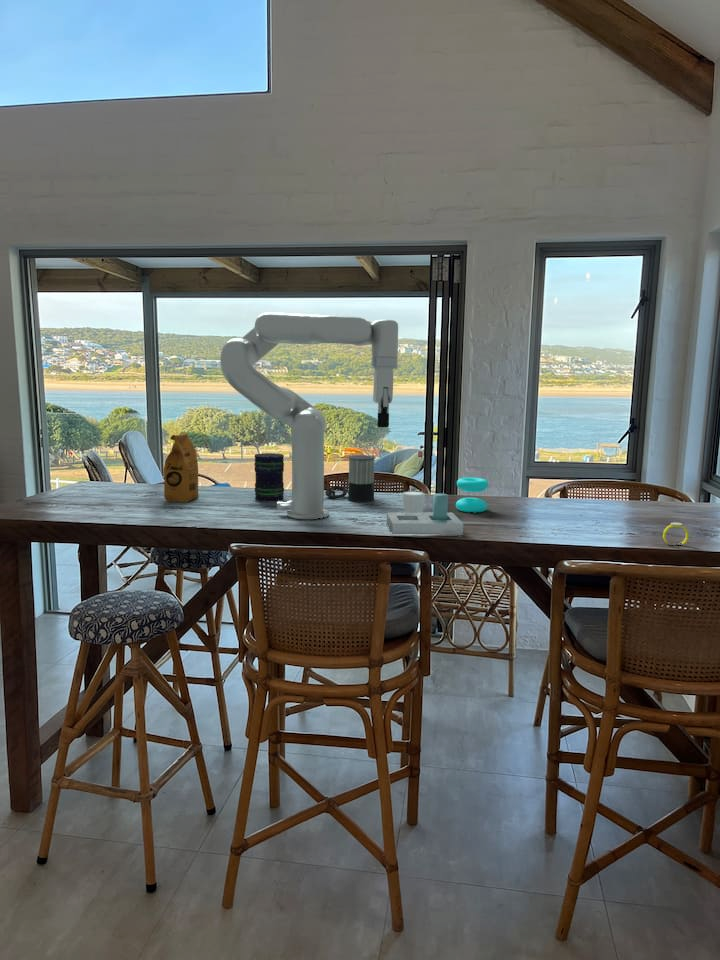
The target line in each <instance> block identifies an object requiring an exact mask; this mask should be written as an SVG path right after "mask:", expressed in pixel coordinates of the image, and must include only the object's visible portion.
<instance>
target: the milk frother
mask: <svg viewBox="0 0 720 960" xmlns="http://www.w3.org/2000/svg"><path fill="white" fill-rule="evenodd" d="M347 458H348V490H347V489H346V488H345V487H344V486H341V485H333V486H330V487H329V488H327V489H326V490H325V495H326V496H327V498H330V499H331V498H332V499H343V498H345V497H346V496H347V500H348V501H350V502H354V503H356V502H357V503H370V502H373V501H375V491H374V490H375V489H374V487H375V459H376V456H372V455H367V454H365V455H363V454H362V455H361V454H360V455H359V454H357V455H348V457H347ZM335 490H336V491H337V490H339V491H342V493H341V494H336V491H335ZM347 494H348V495H347Z"/></svg>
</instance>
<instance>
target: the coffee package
mask: <svg viewBox="0 0 720 960" xmlns="http://www.w3.org/2000/svg"><path fill="white" fill-rule="evenodd" d="M170 440H172V441H173V442H174V443H173V444H172V447H171V451H170V452H169V454H168V455H167V457H166V459H165V460H164V464H163V465H164V466H163V480H164V481H163V482H164V483H163V487H164V494H163V498H164V500H165V501H166V502H168V503H170V502H171V503H181V502H182V503H183V502H187V503H189V502H190V501H191V500H193V499H195V500H197V498H198V497H199V496H200V494H199V463H198V455H197V450H196V448H195V445H194V444H193V442H192V440H191V439H190V437H189V435H188V433H187V432H186V431H184V432H182V433H181V434H172V435H171V436H170Z"/></svg>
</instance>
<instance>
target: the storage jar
mask: <svg viewBox="0 0 720 960" xmlns="http://www.w3.org/2000/svg"><path fill="white" fill-rule="evenodd" d="M284 456H285V455H284V454H282V453H275V452H274V453H273V452H272V453H270V452H269V453H267V452H266V453H257V454H254V472H255V482H254V496H255V497H254V500H255V501H257V500H258V502H263V501H265V503H266V502H267V501H275V502H279V501H278V500H281V501H283V500H284V495H285V493H284V492H285V487H284V485H285V483H284V471H285V469H284V468H285V462H284ZM267 503H268V502H267Z"/></svg>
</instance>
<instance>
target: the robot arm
mask: <svg viewBox="0 0 720 960" xmlns="http://www.w3.org/2000/svg"><path fill="white" fill-rule="evenodd" d="M279 344H295V345H297V344H298V345H309V346H310V345H312V346H314V345H318V344H319V345H320V344H340V345H341V344H342V345H353V346H357V347H363V346H369V345H371V366H370V367H371V369H374V373H373V375H374V376H373V392H372V395H373V396H372V401H373V402H374V403H375V404H377V405H378V406H377V424H376V425H377V428H389V426H390V412H389V411H390V404H391V403H392V402H393V397H394V396H393V395H394V370H398V354H399V353H398V351H399V348H398V347H399V346H398V345H399V323H398V322H397V321H396V320H392V319H378V320H377V319H376V320H374V321H370V320H367V319H365V318H363V317H357V316H345V315H344V316H340V315H339V316H338V315H323V314H321V315H320V314H308V313H289V312H272V311H270V312H263V313H261V314H260V315H259V316H257V317H256V319H255V321H254V326H253V328H252V329H251V330H250V331H248V332H247V333H245V335H244V336H242V337H241V338H240V337H235V338H232V339H229V340H227V342H225V344H224V345H223V347H222V348H221V352H220V360H219V361H220V368H221V371H222V374H223V376H224V378H225V380H226V382H227V383H228V385H230V386H231V387H232V388H233V389H234V390H235V391H236V392H237V393H239V394H240V395H241V396H242V397H244V398H245V399H246V400H247V401H249V402H250V403H251V404H253V405H254V406H256V407H257V408H258V409H259V410H261V411H262V412H263V413H265V415H267V416H268V417H269V418H270V419H272V420H276V421H281V422H282V423H283V424H285V425H286V426H288V427H289V428H290V441H291V444H290V445H291V499H290V500H288V501H287V502H286V501H285V502H284V501H276V509H281V510H287V511H286V515H287V517H288V518H292V519H297V520H319V519H318V518H320V519H324V518H327V517H328V516H329V514H330V513H329V510H328V509H325V507H324V506H325V503H324V501H325V499H324V498H325V496H324V495H325V491H324V490H325V430H326V428H327V422H326V418H325V415H324V414H323V413H322V412H321V411H320V409H319V410H318V409H317V408H316V407H315V406H313V404H311V403H309V402H308V401H306V399H304V398H302V397H301V396H300V395H299V394H297V393H296V392H294V391H293V390H291V389H290V388H287V387H282V386H280V385H278V384H276V383H274V382H273V381H272V380H271V379H269V378H267V376H265V374H263V373H261V372H260V371H258V370H257V369H256V368H255V367H254V365H256V364H257V363H258V362H259V361H260V360H261V359H262V358H264V357H265V356H266V355H267V354H268V353H270V352H271V351H272V350H273V349H274V348H275V347H277V346H278V345H279ZM323 517H324V518H323Z"/></svg>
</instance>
